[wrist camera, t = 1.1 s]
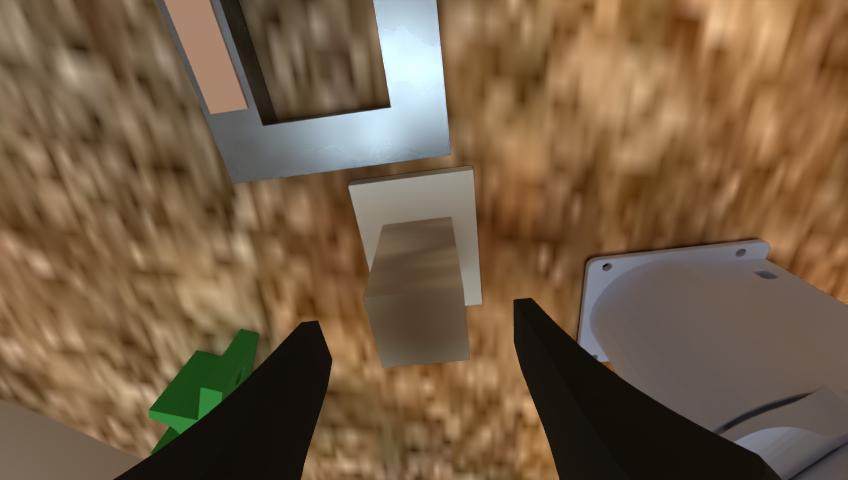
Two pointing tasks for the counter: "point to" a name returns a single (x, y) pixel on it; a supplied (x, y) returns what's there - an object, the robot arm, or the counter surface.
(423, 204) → the white rectangular plate
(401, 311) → the birch peg
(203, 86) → the plate
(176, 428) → the pipe clamp
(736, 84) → the counter surface
